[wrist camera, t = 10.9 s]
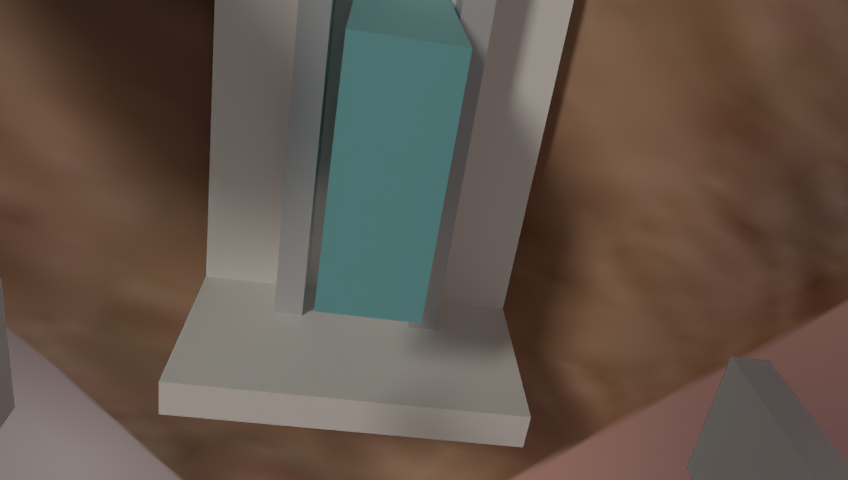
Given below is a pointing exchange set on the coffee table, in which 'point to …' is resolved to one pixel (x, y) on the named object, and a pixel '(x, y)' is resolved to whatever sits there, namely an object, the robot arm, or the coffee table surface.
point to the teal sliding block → (391, 156)
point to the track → (303, 228)
